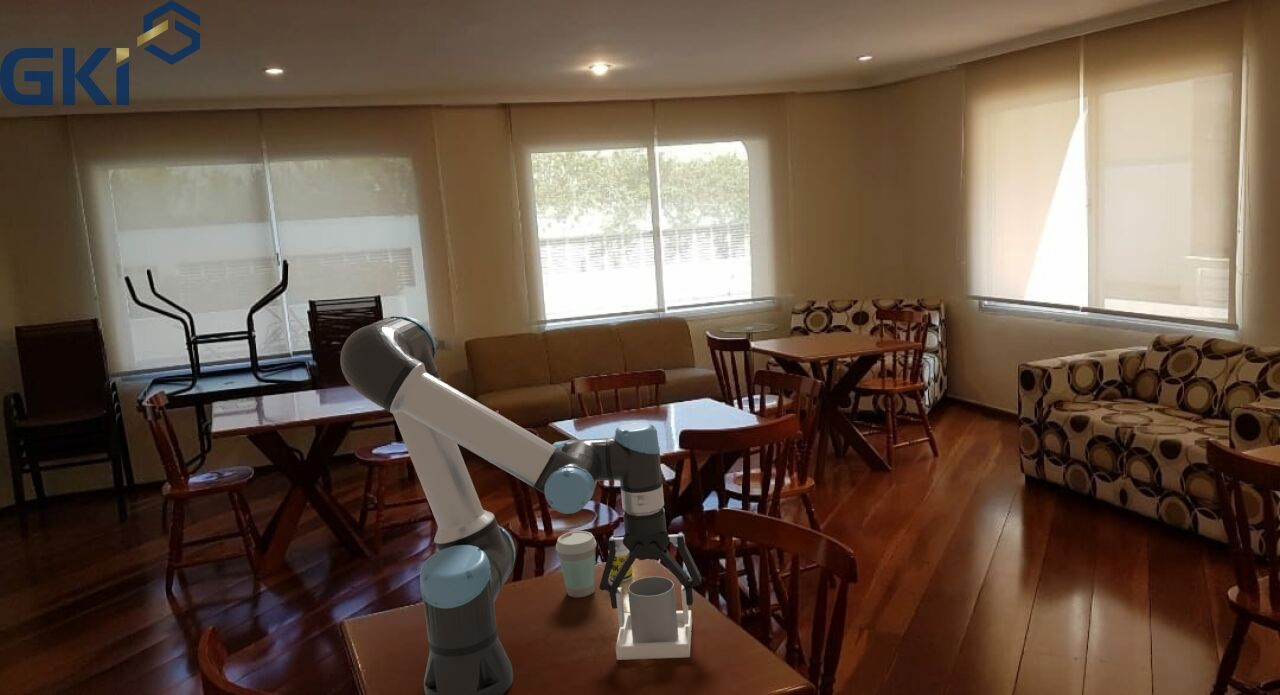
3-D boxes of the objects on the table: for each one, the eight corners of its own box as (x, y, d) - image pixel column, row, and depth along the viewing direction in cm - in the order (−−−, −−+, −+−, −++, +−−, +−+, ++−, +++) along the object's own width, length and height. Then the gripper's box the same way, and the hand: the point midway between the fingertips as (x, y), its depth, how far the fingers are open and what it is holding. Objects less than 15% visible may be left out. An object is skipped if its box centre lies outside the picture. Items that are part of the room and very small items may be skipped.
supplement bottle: (607, 582, 194) (603, 544, 193) (614, 572, 199) (611, 536, 197) (628, 582, 193) (625, 545, 191) (635, 573, 197) (631, 537, 196)
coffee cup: (585, 579, 197) (579, 527, 195) (609, 590, 190) (603, 536, 188) (552, 592, 191) (546, 539, 189) (576, 604, 185) (570, 548, 183)
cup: (673, 648, 162) (669, 596, 160) (629, 648, 163) (624, 596, 162) (680, 626, 170) (676, 576, 168) (638, 626, 172) (633, 576, 170)
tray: (616, 659, 161) (615, 646, 161) (624, 625, 174) (623, 613, 173) (689, 657, 160) (688, 643, 159) (692, 622, 172) (691, 610, 172)
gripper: (575, 519, 160) (587, 634, 164) (708, 512, 158) (718, 629, 161) (582, 505, 167) (593, 615, 171) (709, 498, 165) (718, 610, 169)
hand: (654, 622), depth 166 cm, fingers open, 11 cm apart
